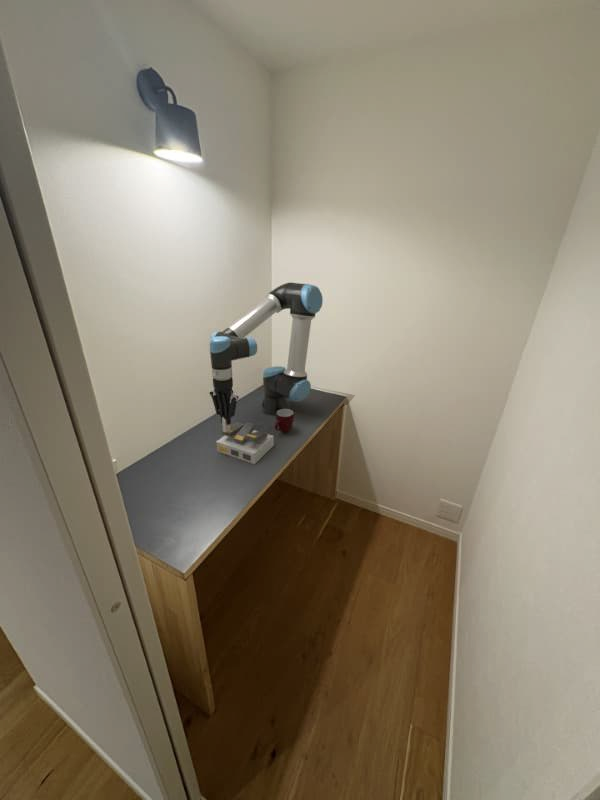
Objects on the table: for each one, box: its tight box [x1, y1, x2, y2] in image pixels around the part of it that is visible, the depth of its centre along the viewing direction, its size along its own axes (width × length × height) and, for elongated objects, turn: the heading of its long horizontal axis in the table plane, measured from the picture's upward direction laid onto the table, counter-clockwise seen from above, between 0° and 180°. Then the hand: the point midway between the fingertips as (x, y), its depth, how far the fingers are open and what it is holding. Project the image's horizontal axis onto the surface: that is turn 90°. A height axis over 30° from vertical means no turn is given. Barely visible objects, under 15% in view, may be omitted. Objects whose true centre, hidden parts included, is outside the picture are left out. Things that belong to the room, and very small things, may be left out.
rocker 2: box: [234, 421, 256, 444], centre depth 133 cm, size 10×4×2 cm, turn 153°
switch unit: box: [215, 429, 275, 465], centre depth 135 cm, size 15×19×7 cm
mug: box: [274, 408, 295, 434], centre depth 146 cm, size 10×8×10 cm
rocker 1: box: [221, 422, 245, 437], centre depth 135 cm, size 10×4×2 cm, turn 153°
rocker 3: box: [245, 430, 269, 442], centre depth 130 cm, size 10×4×2 cm, turn 153°
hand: (226, 430), depth 131 cm, fingers closed
